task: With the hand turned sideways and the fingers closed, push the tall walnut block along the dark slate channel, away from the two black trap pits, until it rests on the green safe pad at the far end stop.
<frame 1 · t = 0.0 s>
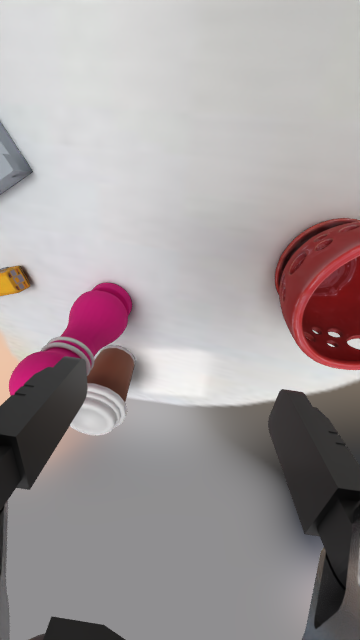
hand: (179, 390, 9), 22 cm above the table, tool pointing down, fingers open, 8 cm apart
coffee cup: (117, 358, 40), on the table
pepper mill: (112, 301, 33), on the table
plant pot: (315, 266, 28), on the table
toy bus: (3, 278, 33), on the table
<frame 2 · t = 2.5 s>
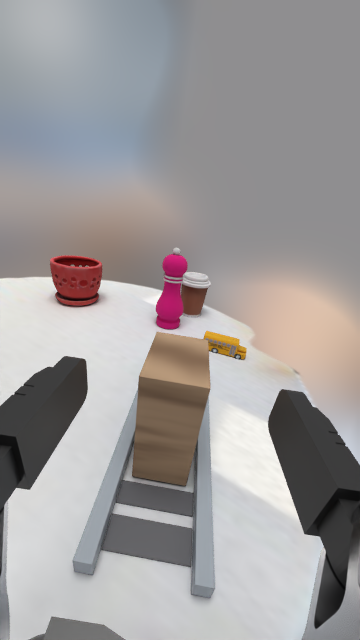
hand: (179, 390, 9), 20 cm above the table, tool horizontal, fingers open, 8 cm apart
walnut block: (170, 406, 25), point 7 cm above the table, slide at 0.0 cm
trap channel: (167, 428, 31), on the table
coffee cup: (190, 313, 69), on the table
pepper mill: (167, 324, 60), on the table
plant pot: (79, 301, 66), on the table
toy bus: (222, 352, 51), on the table
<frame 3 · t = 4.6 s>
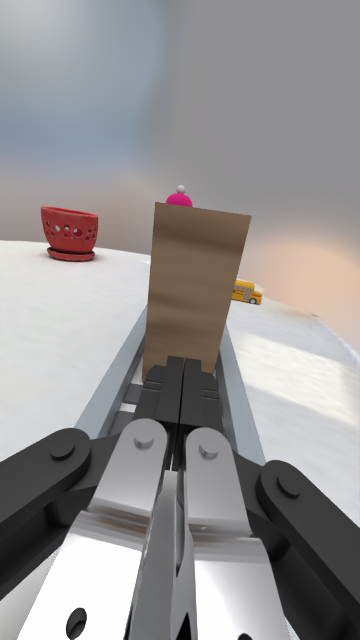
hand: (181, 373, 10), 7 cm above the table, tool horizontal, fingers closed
walnut block: (188, 296, 20), point 7 cm above the table, slide at 0.0 cm
trap channel: (180, 346, 26), on the table
pepper mill: (170, 278, 55), on the table
plant pot: (73, 258, 61), on the table
toy bus: (235, 300, 47), on the table
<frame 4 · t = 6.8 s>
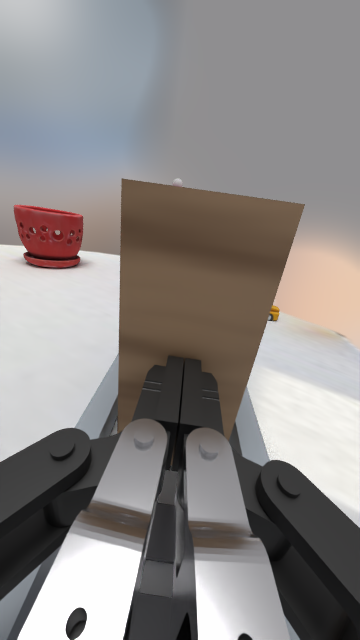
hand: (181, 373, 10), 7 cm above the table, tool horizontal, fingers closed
walnut block: (186, 328, 14), point 7 cm above the table, slide at 1.4 cm, touching gripper
trap channel: (175, 398, 18), on the table
plant pot: (55, 265, 53), on the table
toy bus: (246, 315, 39), on the table
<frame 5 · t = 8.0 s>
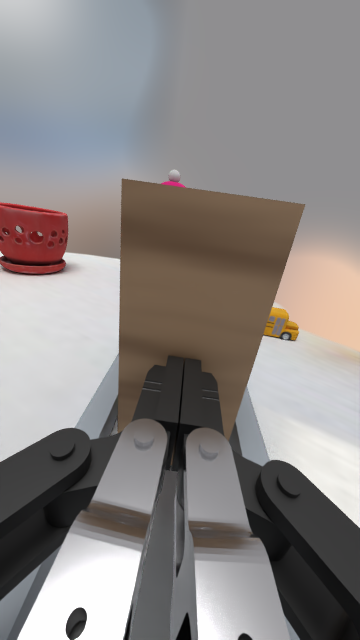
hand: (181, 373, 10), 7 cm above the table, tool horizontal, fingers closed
walnut block: (187, 328, 14), point 7 cm above the table, slide at 8.2 cm, touching gripper
trap channel: (164, 491, 12), on the table
plant pot: (37, 270, 47), on the table
toy bus: (258, 332, 33), on the table
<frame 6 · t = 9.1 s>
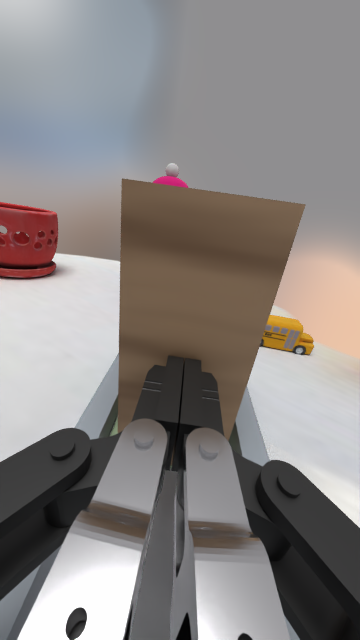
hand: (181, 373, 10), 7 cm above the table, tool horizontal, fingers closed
walnut block: (187, 328, 14), point 7 cm above the table, slide at 12.0 cm, touching gripper, trap channel
trap channel: (151, 600, 8), on the table
pepper mill: (159, 304, 38), on the table
plant pot: (25, 273, 43), on the table
toy bus: (268, 345, 30), on the table
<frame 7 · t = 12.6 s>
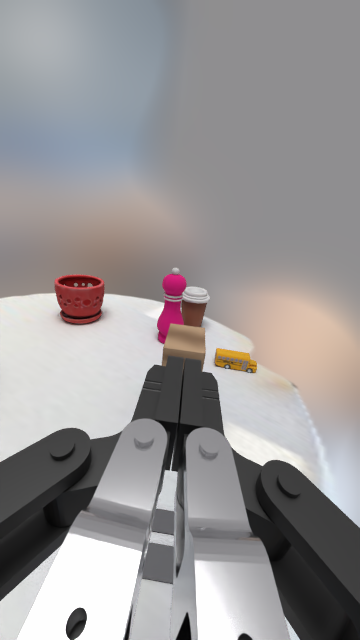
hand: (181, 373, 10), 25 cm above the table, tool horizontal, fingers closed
walnut block: (181, 372, 38), point 7 cm above the table, slide at 12.0 cm, touching trap channel
trap channel: (171, 449, 33), on the table
coffee cup: (190, 326, 71), on the table
pepper mill: (169, 339, 62), on the table
plant pot: (83, 318, 68), on the table
toy bus: (233, 367, 54), on the table
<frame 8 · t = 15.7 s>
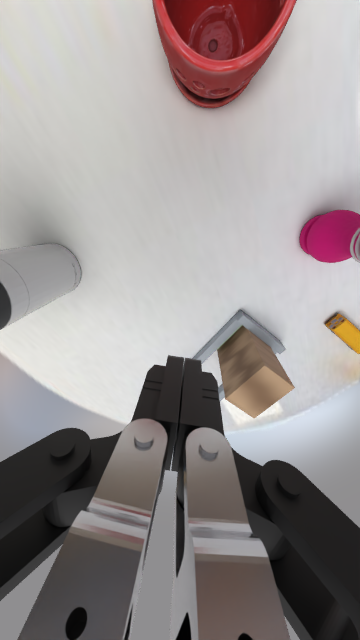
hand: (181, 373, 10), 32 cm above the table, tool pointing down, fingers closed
walnut block: (248, 365, 39), point 7 cm above the table, slide at 12.0 cm, touching trap channel
trap channel: (212, 371, 49), on the table
pepper mill: (318, 235, 36), on the table
plant pot: (215, 59, 29), on the table
toy bus: (344, 330, 43), on the table
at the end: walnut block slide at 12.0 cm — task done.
